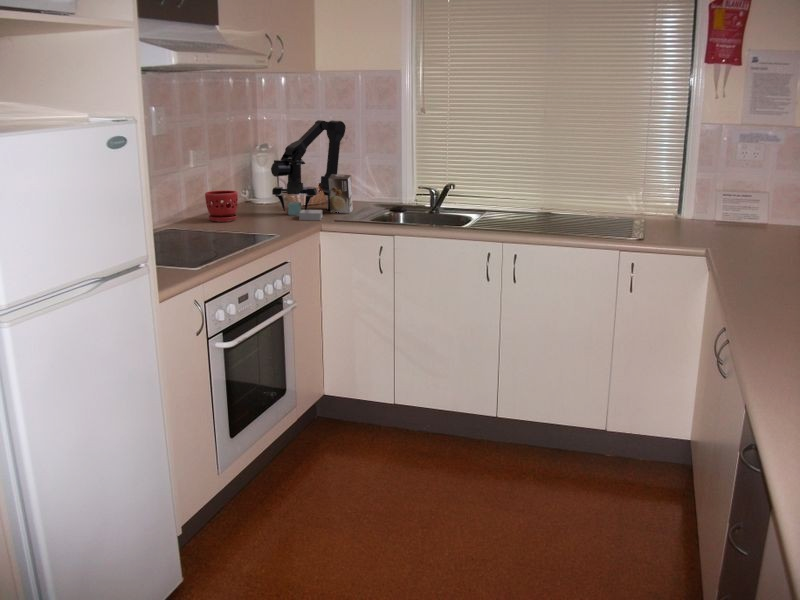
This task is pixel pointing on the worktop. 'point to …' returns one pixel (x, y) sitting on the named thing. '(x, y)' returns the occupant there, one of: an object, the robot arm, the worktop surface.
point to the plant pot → (222, 205)
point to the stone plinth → (310, 215)
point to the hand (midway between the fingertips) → (294, 210)
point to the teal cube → (294, 208)
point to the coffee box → (340, 193)
